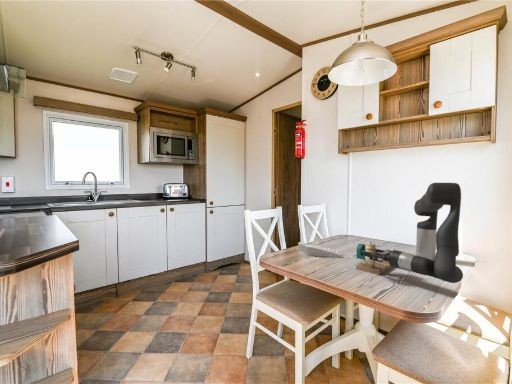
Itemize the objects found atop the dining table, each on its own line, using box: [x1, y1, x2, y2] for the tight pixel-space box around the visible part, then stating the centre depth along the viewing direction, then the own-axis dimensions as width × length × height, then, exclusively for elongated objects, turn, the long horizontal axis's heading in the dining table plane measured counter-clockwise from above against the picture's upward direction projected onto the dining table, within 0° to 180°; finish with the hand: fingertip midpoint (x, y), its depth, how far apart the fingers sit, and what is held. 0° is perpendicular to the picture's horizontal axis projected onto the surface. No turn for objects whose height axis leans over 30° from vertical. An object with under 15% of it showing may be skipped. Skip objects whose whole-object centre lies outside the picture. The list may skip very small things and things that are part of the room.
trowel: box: [297, 241, 343, 258], centre depth 152 cm, size 28×16×5 cm, turn 56°
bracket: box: [356, 243, 379, 261], centre depth 147 cm, size 18×7×8 cm, turn 131°
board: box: [355, 260, 393, 276], centre depth 128 cm, size 20×11×2 cm, turn 133°
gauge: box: [364, 241, 377, 268], centre depth 123 cm, size 5×5×12 cm
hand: (369, 252), depth 123 cm, fingers open, 8 cm apart
